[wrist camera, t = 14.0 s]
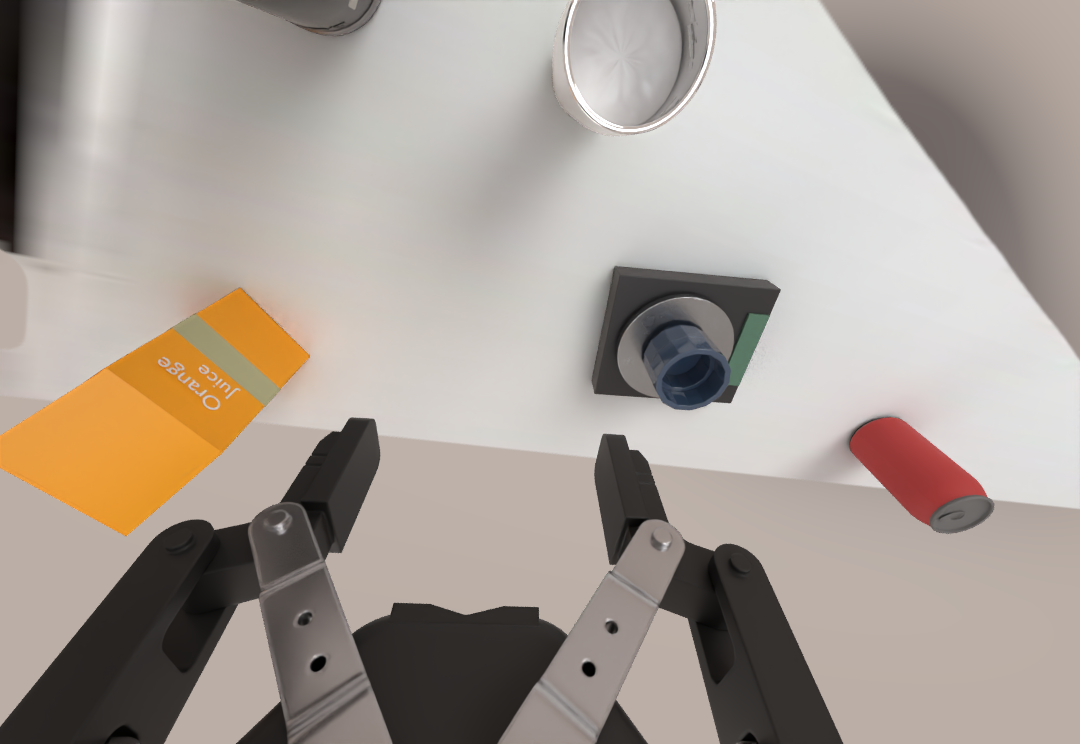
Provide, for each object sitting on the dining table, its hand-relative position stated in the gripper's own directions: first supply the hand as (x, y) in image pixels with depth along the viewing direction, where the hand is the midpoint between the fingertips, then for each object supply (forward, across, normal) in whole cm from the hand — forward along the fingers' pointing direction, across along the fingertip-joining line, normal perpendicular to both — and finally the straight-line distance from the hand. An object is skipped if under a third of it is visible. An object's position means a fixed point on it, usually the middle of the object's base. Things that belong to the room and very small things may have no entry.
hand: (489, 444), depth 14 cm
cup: (+22, -16, +8) cm, 28 cm away
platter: (+23, -16, +8) cm, 29 cm away
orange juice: (+26, +26, +12) cm, 39 cm away
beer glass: (+26, -5, -13) cm, 30 cm away
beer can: (+26, -46, +19) cm, 56 cm away
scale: (+26, -17, +8) cm, 32 cm away
